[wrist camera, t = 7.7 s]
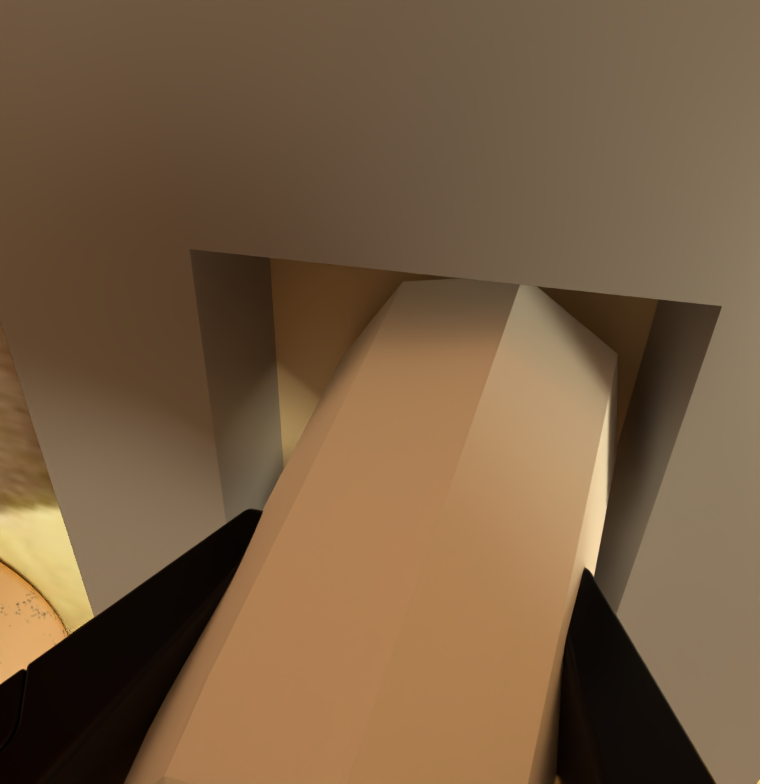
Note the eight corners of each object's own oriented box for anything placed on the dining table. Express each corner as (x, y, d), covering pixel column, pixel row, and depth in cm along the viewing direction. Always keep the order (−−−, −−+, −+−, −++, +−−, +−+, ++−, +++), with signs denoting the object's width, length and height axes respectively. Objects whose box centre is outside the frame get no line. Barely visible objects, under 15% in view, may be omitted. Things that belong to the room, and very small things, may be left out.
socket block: (1006, -21, 9) (1292, -26, 5) (701, 637, 16) (742, 803, 13) (78, -48, 11) (-123, -63, 8) (186, 542, 18) (108, 663, 15)
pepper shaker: (292, 334, 13) (-469, 1129, 4) (549, 206, 10) (-8, 1890, 1) (426, 535, 14) (112, 1416, 5) (677, 472, 12) (862, 2005, 3)
